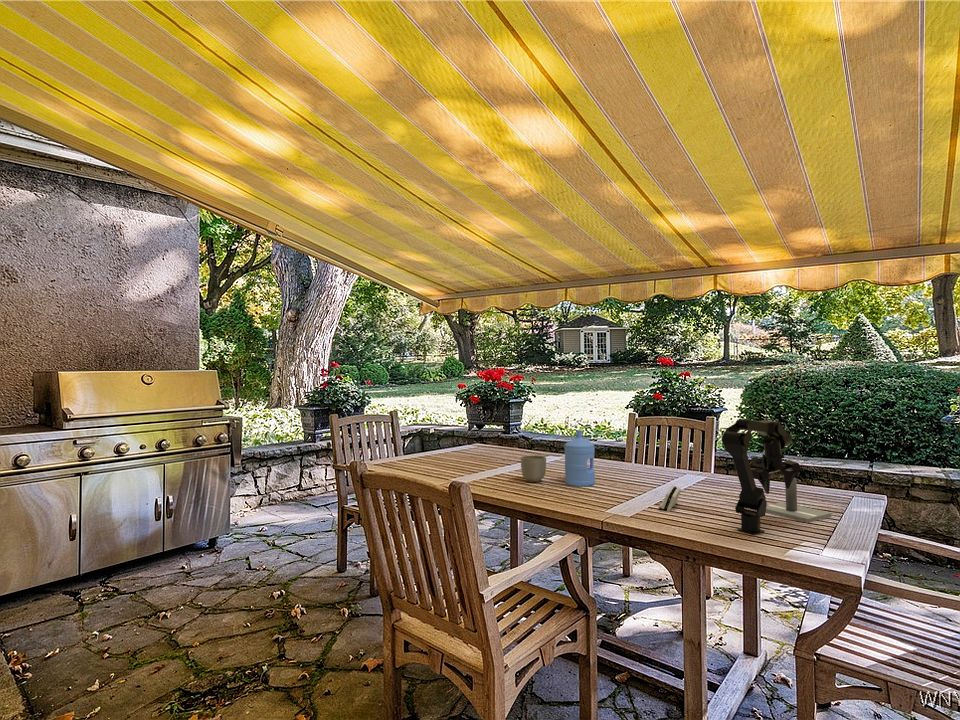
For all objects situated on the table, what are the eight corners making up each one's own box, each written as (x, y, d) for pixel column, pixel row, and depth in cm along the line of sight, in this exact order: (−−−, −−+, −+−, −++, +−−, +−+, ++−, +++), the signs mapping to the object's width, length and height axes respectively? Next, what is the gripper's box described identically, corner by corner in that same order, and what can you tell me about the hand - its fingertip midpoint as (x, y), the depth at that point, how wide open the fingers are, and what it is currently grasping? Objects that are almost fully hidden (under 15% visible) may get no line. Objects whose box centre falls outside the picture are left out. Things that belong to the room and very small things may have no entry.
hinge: (665, 501, 236) (672, 481, 234) (675, 505, 233) (682, 485, 232) (657, 509, 221) (665, 488, 220) (668, 515, 219) (676, 493, 217)
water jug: (568, 487, 266) (567, 432, 266) (562, 480, 281) (562, 429, 282) (598, 486, 266) (597, 432, 266) (591, 480, 281) (590, 428, 282)
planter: (521, 478, 288) (520, 455, 288) (546, 478, 287) (545, 455, 287) (520, 484, 274) (520, 459, 274) (547, 484, 273) (546, 459, 273)
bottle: (798, 511, 210) (797, 477, 210) (786, 511, 211) (785, 476, 211) (796, 509, 213) (795, 475, 213) (785, 508, 215) (784, 474, 215)
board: (807, 522, 200) (807, 518, 200) (758, 510, 218) (758, 506, 218) (831, 516, 208) (831, 512, 208) (782, 505, 225) (782, 501, 225)
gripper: (777, 443, 211) (781, 480, 212) (737, 452, 207) (742, 490, 209) (799, 449, 200) (803, 488, 201) (758, 459, 197) (762, 498, 198)
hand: (777, 491), depth 203 cm, fingers open, 9 cm apart
